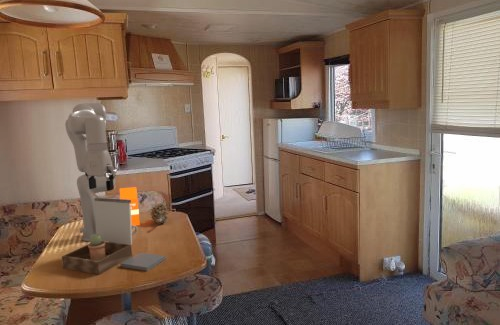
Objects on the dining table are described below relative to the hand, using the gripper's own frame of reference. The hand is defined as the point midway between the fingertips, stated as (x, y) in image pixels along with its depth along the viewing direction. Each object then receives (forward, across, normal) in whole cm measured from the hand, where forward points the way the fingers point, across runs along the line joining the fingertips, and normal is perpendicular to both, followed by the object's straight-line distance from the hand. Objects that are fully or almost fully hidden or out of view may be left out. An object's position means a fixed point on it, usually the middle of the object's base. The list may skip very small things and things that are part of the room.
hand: (101, 189), depth 166 cm
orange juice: (+31, -27, +42) cm, 59 cm away
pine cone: (+31, -11, +47) cm, 57 cm away
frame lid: (+16, -3, +7) cm, 17 cm away
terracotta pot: (+30, -2, -3) cm, 31 cm away
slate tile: (+30, +16, +3) cm, 35 cm away
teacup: (+31, -9, +17) cm, 36 cm away
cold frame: (+30, -2, -3) cm, 31 cm away
